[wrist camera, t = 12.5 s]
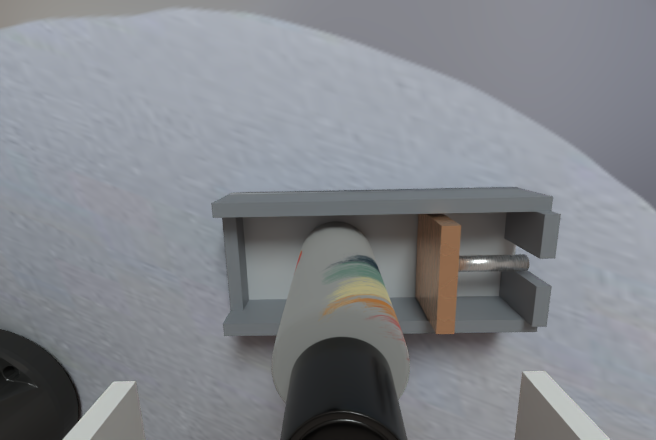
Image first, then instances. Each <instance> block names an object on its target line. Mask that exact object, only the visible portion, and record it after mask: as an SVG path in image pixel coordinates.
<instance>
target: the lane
mask: <svg viewBox="0 0 656 440" xmlns="http://www.w3.org/2000/svg"><path fill="white" fill-rule="evenodd" d="M552 201H553V197H552V196H548V195H545V194H541V193H537V192H533V191H529V190H525V189H521V188H517V187H492V188H443V189H394V190H344V191H295V192H246V193H231V194H229V195H227V196H225V197H223V198H221V199H219V200H217V201H215V202H213V203H211V204H212V214H213V218H222V220H223V231H224V242H225V253H226V264H227V275H228V287H229V298H230V309H231V311H230V313H229V315H228V316H227V318H226V320H225V321H224V323H223V328H224V336H268V335H277V333H278V329H279V326H280V322H281V318H282V315H283V311H284V308H285V304H286V301H287V297H288V294H289V290H290V287H291V283H292V280H293V276H294V272H295V269H296V265H297V262H298V258H299V255H300V251H301V248H302V245H303V243H304V241H305V239H306V237H307V236H308V235H309V233H310V232H311V231H312V230H314V229H315V228H316V227H318V226H320V225H322V224H324V223H328V222H334V221H338V222H345V223H348V224H351V225H353V226H354V227H356V228H357V229H359V230H360V231H361V232H362V233H363V234H364V236H365V237H366V239H367V240H368V242H369V244H370V247H371V249H372V252H373V255H374V257H375V260H376V263H377V265H378V268H379V271H380V274H381V276H382V279H383V282H384V284H385V287H386V290H387V292H388V295H389V298H390V301H391V303H392V306H393V309H394V311H395V314H396V317H397V320H398V322H399V325H400V328H401V331H402V333H403V334H417V333H435V331H434V329H433V327H432V325H431V324H430V322H429V320H428V318H427V316H426V314H425V312H424V311H423V309H422V307H421V305H420V303H419V301H418V299H417V298H416V296H415V291H416V263H417V234H418V214H437V213H443V214H444V215H446V216H447V217H449V218H451V219H452V220H454V221H455V222H457V223H458V224H460V225H461V236H460V252H459V256H461V255H515V250H516V245H517V246H519V247H520V248H522V249H524V250H526V251H527V252H529V253H531V254H533V255H534V256H536V257H538V258H540V259H548V258H555V255H556V247H557V239H558V231H559V223H560V215H561V214H558V213H555V212H552V211H551V209H552ZM551 287H552V286H550V285H549V284H547V283H546V282H544V281H543V280H541V279H540V278H538V277H537V276H535V275H534V274H532V273H531V272H529V271H528V270H527V271H494V272H458V284H457V300H456V316H455V332H454V333H492V332H537V327H546V326H547V318H548V311H549V303H550V295H551Z"/></svg>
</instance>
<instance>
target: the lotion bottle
mask: <svg viewBox="0 0 656 440" xmlns="http://www.w3.org/2000/svg"><path fill="white" fill-rule="evenodd" d="M409 371H410V361H409V353H408V349H407V345H406V342H405V339H404V336H403V333H402V331H401V328H400V325H399V322H398V320H397V317H396V314H395V311H394V309H393V306H392V303H391V301H390V298H389V295H388V292H387V290H386V287H385V284H384V282H383V279H382V276H381V274H380V271H379V268H378V265H377V263H376V260H375V257H374V255H373V252H372V249H371V247H370V244H369V242H368V240H367V239H366V237H365V236H364V234H363V233H362V232H361V231H360V230H359V229H357V228H356V227H354V226H353V225H351V224H348V223H345V222H338V221H334V222H328V223H324V224H322V225H320V226H318V227H316V228H315V229H314V230H312V231H311V232H310V233H309V235H308V236H307V237H306V239H305V241H304V243H303V245H302V248H301V251H300V255H299V258H298V262H297V265H296V269H295V272H294V276H293V280H292V283H291V287H290V290H289V294H288V297H287V301H286V304H285V308H284V311H283V315H282V318H281V322H280V326H279V329H278V333H277V337H276V341H275V345H274V349H273V354H272V377H273V381H274V384H275V387H276V389H277V391H278V393H279V395H280V397H281V398H282V400H283V401H284V402H285V404H286V407H285V413H284V420H283V426H282V432H281V439H280V440H407V436H406V431H405V427H404V423H403V419H402V414H401V410H400V406H399V402H398V400H399V399H400V397H401V396H402V394H403V392H404V390H405V388H406V385H407V382H408V378H409Z"/></svg>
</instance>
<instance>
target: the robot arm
mask: <svg viewBox="0 0 656 440" xmlns="http://www.w3.org/2000/svg"><path fill="white" fill-rule="evenodd" d="M77 420H78V403H77V398H76V394H75V391H74V388H73V386H72V383H71V381H70V379H69V378H68V376H67V374H66V373H65V371H64V370H63V369H62V367H61V366H60V365H59V364H58V362H57V361H56V360H55V359H54V358H53V357H52V356H51V355H50V354H48V353H47V352H46V351H45V350H44V349H42V348H41V347H39V346H38V345H36V344H35V343H33V342H32V341H30V340H28V339H26V338H24V337H22V336H20V335H17V334H15V333H12V332H9V331H5V330H1V329H0V440H146V439H145V433H144V427H143V421H142V415H141V408H140V402H139V396H138V390H137V384H136V381H121V382H113V383H112V384H111V385H110V386H109V387H108V388H107V390H106V391H105V392H104V393H103V394H102V395H101V396H100V398H99V399H98V400H97V401H96V402H95V403H94V404H93V406H92V407H91V408H90V409H89V410H88V411H87V412H86V414H85V415H84V416H83V417H82V418H81V419H80V420H79V421H78V423H77ZM515 440H610V439H609V438H608V437H607V435H606V434H605V433H604V432H603V431H602V430H601V429H600V428H599V427H598V426H597V425H596V424H595V423H594V422H593V421H592V420H591V419H590V418H589V417H588V416H587V415H586V414H585V412H584V411H583V410H582V409H581V408H580V407H579V406H578V405H577V404H576V403H575V402H574V401H573V400H572V399H571V398H570V397H569V396H568V395H567V394H566V393H565V392H564V391H563V389H562V388H561V387H560V386H559V385H558V384H557V383H556V382H555V381H554V380H553V379H552V378H551V377H550V376H549V375H548V374H547V373H546V372H545V371H522V379H521V388H520V397H519V405H518V414H517V423H516V432H515Z"/></svg>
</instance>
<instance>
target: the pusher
mask: <svg viewBox="0 0 656 440" xmlns="http://www.w3.org/2000/svg"><path fill="white" fill-rule="evenodd" d="M460 236H461V225H460V224H458V223H457V222H455V221H454V220H452V219H451V218H449V217H447V216H446V215H444V214H443V213H437V214H418V234H417V263H416V291H415V296H416V298H417V299H418V301H419V303H420V305H421V307H422V309H423V311H424V312H425V314H426V316H427V318H428V320H429V322H430V324H431V325H432V327H433V329H434V331H435V333H436V334H454V332H455V316H456V300H457V284H458V272H494V271H527V270H528V268H529V259H528V257H527V256H526V255H525V254H519V255H461V256H459V252H460Z"/></svg>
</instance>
